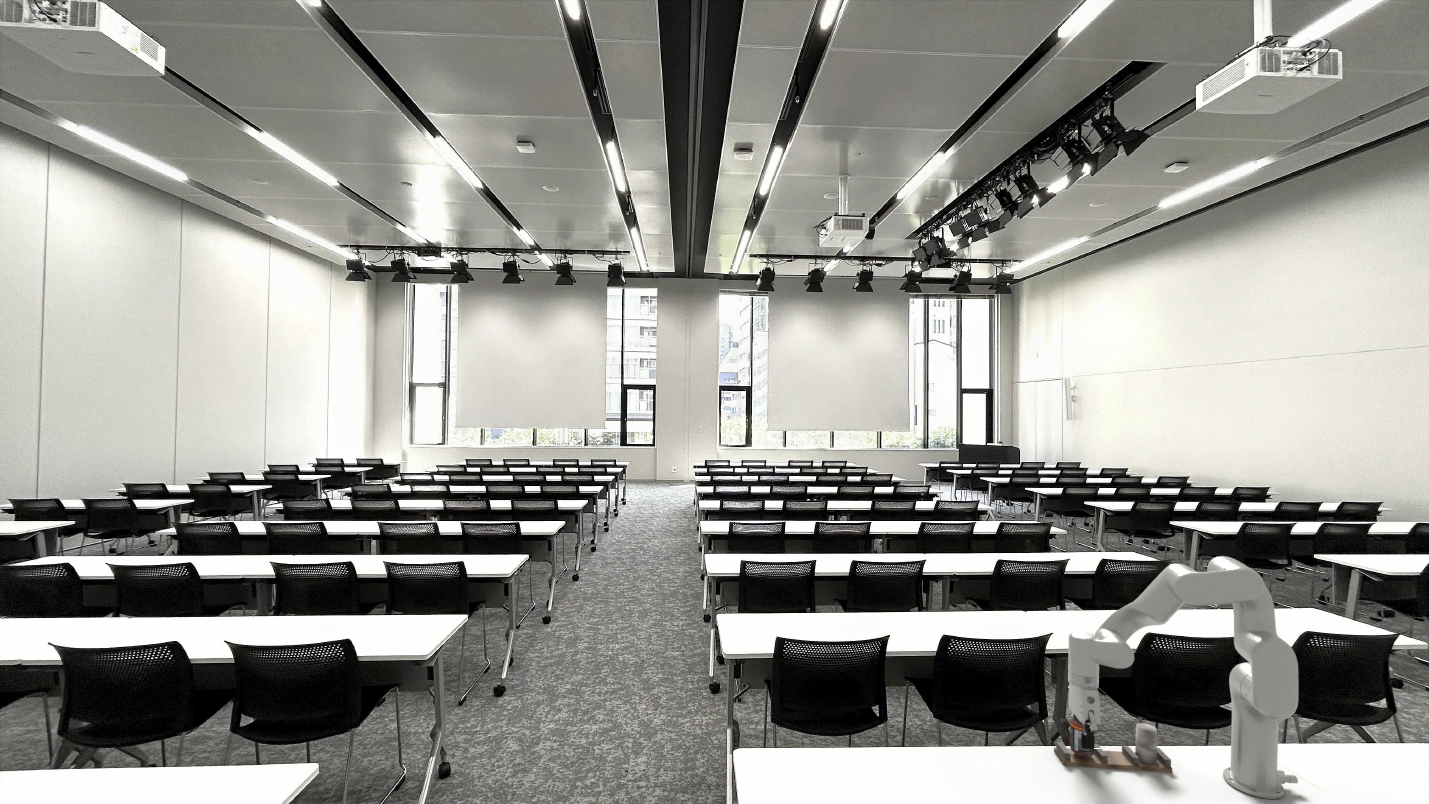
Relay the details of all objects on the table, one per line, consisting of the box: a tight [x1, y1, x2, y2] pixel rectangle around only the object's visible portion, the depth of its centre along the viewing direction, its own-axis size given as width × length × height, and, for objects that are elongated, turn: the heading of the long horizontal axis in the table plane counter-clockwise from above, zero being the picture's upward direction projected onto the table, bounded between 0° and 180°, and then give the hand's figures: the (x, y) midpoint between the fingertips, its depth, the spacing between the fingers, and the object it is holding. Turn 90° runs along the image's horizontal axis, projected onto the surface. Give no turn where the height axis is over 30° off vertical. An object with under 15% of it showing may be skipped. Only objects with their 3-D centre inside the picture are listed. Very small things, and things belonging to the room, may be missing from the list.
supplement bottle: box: [1069, 714, 1094, 757], centre depth 187 cm, size 6×6×11 cm
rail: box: [1053, 722, 1173, 773], centre depth 186 cm, size 28×7×10 cm, turn 84°
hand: (1082, 741), depth 187 cm, fingers closed on supplement bottle, 5 cm apart
